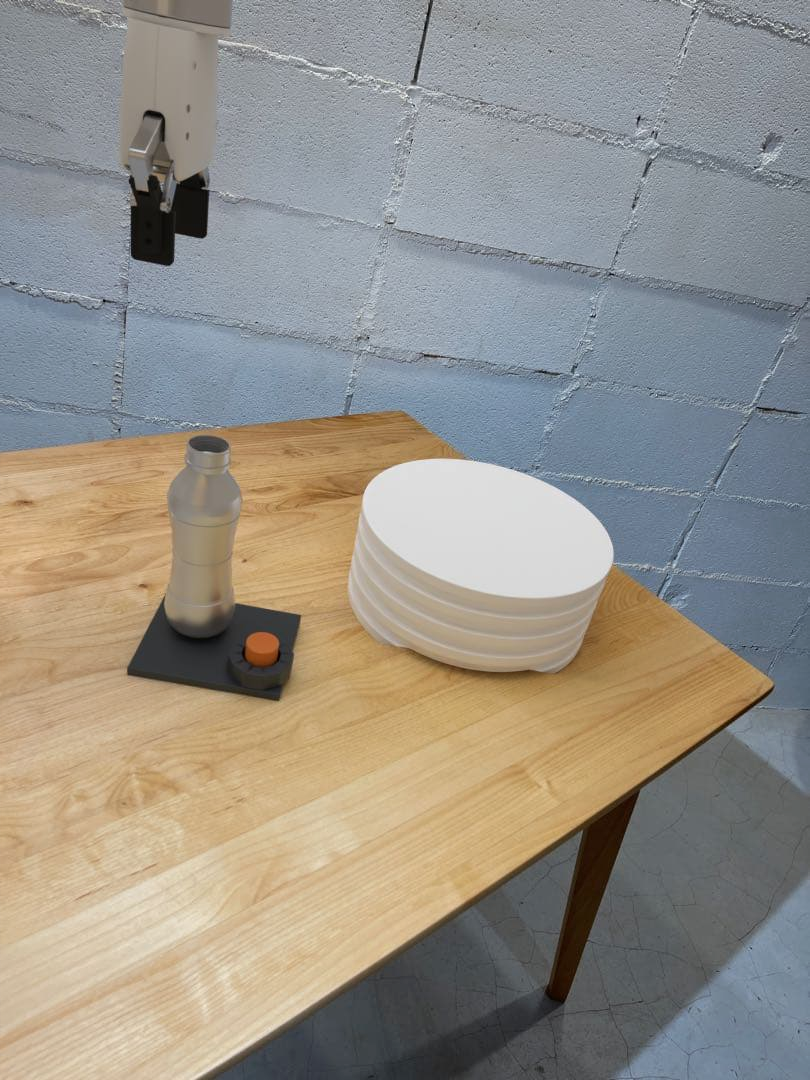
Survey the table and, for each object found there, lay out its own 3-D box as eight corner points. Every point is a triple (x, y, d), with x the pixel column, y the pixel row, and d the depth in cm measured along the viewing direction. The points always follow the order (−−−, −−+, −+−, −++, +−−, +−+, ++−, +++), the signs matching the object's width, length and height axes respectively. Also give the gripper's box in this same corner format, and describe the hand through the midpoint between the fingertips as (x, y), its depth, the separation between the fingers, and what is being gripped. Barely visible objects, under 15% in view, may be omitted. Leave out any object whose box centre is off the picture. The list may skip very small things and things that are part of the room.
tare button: (241, 664, 75) (243, 649, 74) (248, 643, 77) (250, 629, 76) (274, 670, 75) (275, 655, 74) (280, 649, 77) (281, 634, 76)
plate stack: (622, 616, 99) (655, 537, 93) (497, 727, 79) (528, 636, 73) (442, 513, 112) (461, 439, 106) (296, 586, 92) (308, 499, 86)
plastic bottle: (220, 654, 77) (234, 469, 67) (151, 636, 78) (155, 450, 67) (242, 614, 83) (259, 438, 72) (178, 598, 83) (185, 420, 72)
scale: (126, 685, 75) (126, 652, 73) (166, 607, 85) (167, 576, 83) (282, 712, 76) (287, 680, 73) (303, 631, 86) (307, 601, 84)
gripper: (162, -5, 65) (158, 218, 74) (77, -15, 50) (84, 264, 59) (256, 15, 65) (240, 234, 74) (198, 11, 51) (187, 284, 60)
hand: (171, 247), depth 67 cm, fingers open, 9 cm apart
